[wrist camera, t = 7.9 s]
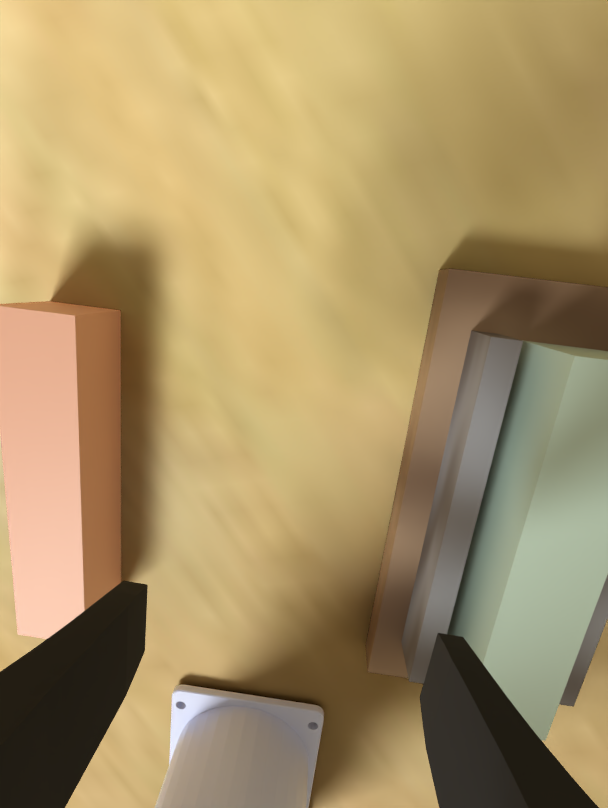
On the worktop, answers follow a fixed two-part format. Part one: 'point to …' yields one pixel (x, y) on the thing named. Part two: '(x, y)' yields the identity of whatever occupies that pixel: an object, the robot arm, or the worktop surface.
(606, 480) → the block
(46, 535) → the bar
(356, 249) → the worktop surface
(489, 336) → the cradle
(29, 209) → the worktop surface
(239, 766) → the robot arm
